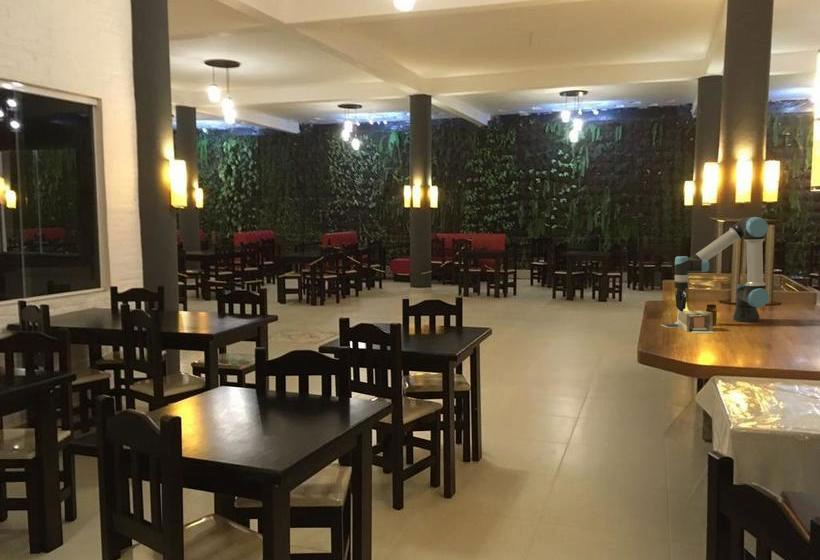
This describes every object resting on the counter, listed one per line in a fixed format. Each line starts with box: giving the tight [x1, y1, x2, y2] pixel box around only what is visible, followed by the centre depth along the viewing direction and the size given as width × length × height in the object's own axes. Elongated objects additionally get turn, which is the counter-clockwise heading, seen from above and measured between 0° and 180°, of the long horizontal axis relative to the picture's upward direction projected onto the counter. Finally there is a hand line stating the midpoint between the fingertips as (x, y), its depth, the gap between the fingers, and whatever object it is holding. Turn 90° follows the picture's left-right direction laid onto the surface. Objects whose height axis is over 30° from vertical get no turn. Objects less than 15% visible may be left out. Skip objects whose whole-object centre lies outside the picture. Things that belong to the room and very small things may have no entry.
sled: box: [674, 314, 708, 331], centre depth 410 cm, size 8×25×7 cm, turn 3°
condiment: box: [705, 303, 718, 326], centre depth 421 cm, size 7×8×12 cm
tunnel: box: [677, 310, 713, 332], centre depth 404 cm, size 15×11×10 cm
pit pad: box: [661, 323, 678, 329], centre depth 418 cm, size 17×10×1 cm, turn 93°
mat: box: [691, 330, 716, 335], centre depth 394 cm, size 11×7×1 cm, turn 93°
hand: (680, 319), depth 424 cm, fingers closed
